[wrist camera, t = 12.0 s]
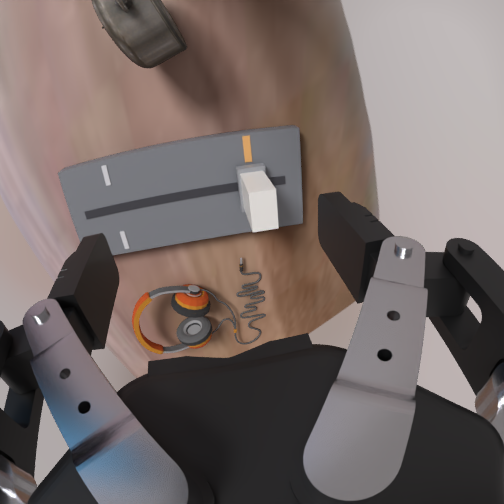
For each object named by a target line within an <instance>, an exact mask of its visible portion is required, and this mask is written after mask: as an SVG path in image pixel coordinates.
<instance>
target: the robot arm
mask: <svg viewBox="0 0 504 504" xmlns="http://www.w3.org/2000/svg"><path fill="white" fill-rule="evenodd" d="M318 236H319V241H320V244H321V247H322V249H323V250H324V252H325V253H326V255H327V256H328V258H329V259H330V261H331V262H332V264H333V266H334V267H335V269H336V270H337V272H338V273H339V275H340V276H341V278H342V280H343V281H344V283H345V284H346V286H347V288H348V289H349V291H350V292H351V294H352V296H353V297H354V299H355V300H356V302H357V303H362V302H364V303H363V305H362V309H361V312H360V315H359V318H358V321H357V324H356V327H355V330H354V333H353V336H352V339H351V341H350V344H349V347H348V350H346V349H344V348H340V347H336V346H330V345H320V344H312V342H311V340H310V338H309V335H308V333H306V334H302V335H297V336H293V337H288V338H284V339H279V340H274V341H270V342H267V343H265V344H262V345H260V346H257V347H255V348H253V349H250V350H248V351H245V352H243V353H241V354H238V355H236V356H233V357H230V358H209V357H190V356H185V357H178V358H171V359H163V360H155V361H149V362H148V374H145V375H143V376H141V377H139V378H136V379H135V380H133V381H131V382H129V383H128V384H127V385H125V386H124V387H123V388H121V389H120V390H119V391H118V392H116V390H115V389H114V388H113V387H112V385H111V384H110V383H109V381H108V380H107V378H106V377H105V375H104V374H103V373H102V371H101V370H100V368H99V367H98V365H97V364H96V363H95V361H94V360H93V358H92V357H91V352H92V350H96V349H104V348H105V343H106V338H107V333H108V328H109V324H110V319H111V315H112V310H113V306H114V302H115V298H116V294H117V289H118V286H119V273H118V269H117V266H116V263H115V261H114V258H113V255H112V253H111V250H110V248H109V245H108V242H107V239H106V237H105V235H104V234H103V233H99V234H94V235H90V236H85V237H83V239H82V241H81V242H80V244H79V246H78V248H77V250H76V252H74V253H73V254H72V255H71V256H70V257H69V258H68V259H67V260H66V261H65V263H64V265H63V267H62V269H61V271H60V273H59V275H58V279H56V281H55V283H54V285H53V287H52V290H51V292H50V294H49V296H48V298H47V299H45V300H41V301H39V302H37V303H36V304H34V305H33V306H32V307H31V308H30V309H29V310H28V311H27V312H26V314H25V316H24V318H23V325H21V326H19V327H16V328H14V329H11V330H9V331H8V329H7V328H6V327H5V325H4V324H3V322H2V321H0V377H1V378H2V379H3V380H4V381H5V382H6V384H7V385H8V386H9V391H8V395H7V399H6V404H5V408H4V411H3V410H2V409H1V408H0V504H504V271H503V270H502V269H501V267H499V265H497V263H496V262H495V261H494V260H493V259H492V258H491V257H490V256H489V255H487V253H485V251H483V250H482V249H481V248H480V247H479V246H478V245H477V244H475V243H474V242H472V241H469V240H466V239H463V238H454V239H451V240H449V241H448V242H447V244H446V248H445V252H425V249H424V247H423V246H422V245H421V244H420V243H419V242H417V241H415V240H413V239H411V238H408V237H402V236H394V235H393V234H392V233H391V232H390V231H389V230H388V229H387V228H386V227H385V226H384V225H383V224H382V223H381V222H380V221H378V219H377V218H376V217H375V216H373V215H372V213H371V212H369V211H368V210H367V209H366V208H365V207H363V206H361V205H359V204H357V203H355V202H353V203H351V202H350V201H349V200H348V199H347V198H346V197H345V196H344V195H343V194H342V193H341V192H332V193H325V194H320V195H319V198H318ZM470 296H471V297H472V298H473V299H474V301H475V302H476V303H477V304H478V305H479V307H480V309H481V312H482V321H481V324H480V323H479V322H478V320H477V319H476V318H475V316H474V315H473V314H472V312H471V311H470V310H469V308H468V307H467V306H466V305H467V302H468V300H469V297H470ZM426 317H429V319H430V320H431V322H432V323H433V325H434V326H435V328H436V329H437V331H438V332H439V334H440V336H441V337H442V339H443V340H444V342H445V344H446V345H447V347H448V348H449V350H450V352H451V353H452V355H453V357H454V358H455V360H456V362H457V363H458V365H459V367H460V368H461V370H462V372H463V374H464V375H465V377H466V379H467V381H468V382H469V384H470V386H471V387H472V389H473V391H474V393H475V395H476V400H475V407H476V412H477V413H474V412H472V411H470V410H468V409H466V408H464V407H461V406H460V405H457V404H455V403H453V402H451V401H449V400H447V399H445V398H443V397H441V396H439V395H437V394H435V393H433V392H430V391H429V390H427V389H424V388H423V387H421V386H419V385H417V379H418V373H419V367H420V360H421V354H422V346H423V338H424V329H425V320H426ZM44 398H45V401H46V403H47V405H48V407H49V409H50V411H51V414H52V416H53V418H54V419H55V422H56V424H57V426H58V428H59V430H60V432H61V433H62V436H63V437H64V439H65V441H66V443H67V445H68V447H69V450H68V451H67V452H66V453H65V454H64V456H63V457H62V458H61V459H60V460H59V462H58V463H57V464H56V465H55V467H54V468H53V469H52V470H51V471H50V473H49V474H48V475H47V476H46V477H45V479H44V480H43V481H42V482H41V483H40V485H39V486H38V487H37V484H36V482H35V480H34V470H35V459H36V448H37V440H38V432H39V425H40V417H41V412H42V406H43V400H44Z"/></svg>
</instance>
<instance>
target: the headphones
mask: <svg viewBox="0 0 504 504" xmlns="http://www.w3.org/2000/svg"><path fill="white" fill-rule="evenodd" d="M239 266H240V272H241V274H243V275H249V274H259V275H260V277H259V280H257V281H256V282H252V283H248V284H244V285H242V289H249V288H253V289H249V290H244V291H240V292H238V293H237V296H238V297H243V296H248V295H251V294H253V295H251V296H250V299H259V298H264V299H263V300H261V301H258V302H253V303H249V304H246V305H245V306H244V307H245V308H255V309H254V310H249V311H245V312H243V313H241V314H240V317H241V318H250V317H255V316H260V315H264V316H262V317H259V318H256V319H253V320H251V321H250V322H249V323H248V327H249V328H251V329H255V330H258V331H259V332H260V333H259V335H258V336H257V338H255V339H254V340H253V341H251V342H248V343H241V342H239V341H238V340H237V337H236V332H237V329H236V320H235V316H234V314H233V312H232V310H231V309H230V307H229V306H228V305H227V304H226V303H224V302H222V301H220V300H218V299H217V298H216V296H215V295H214V294H213V293H211V292H210V291H208V290H204V289H203V288H201V287H199V286H197V285H192V284H188V285H183V286H169V287H162V288H158V289H156V290H153V291H151V292H150V293H148V292H147V293H145V294H144V295H143V296H142V297H141V298H140V299H139V300H138V302H137V303H136V305H135V308H134V311H133V316H132V324H133V329H134V332H135V335H136V337H137V339H138V340H139V342H140V343H141V344H142V345H143V346H144V347H145V348H146V349H148V350H150V351H152V352H154V353H158V354H162V353H173V352H178V351H181V350H184V349H187V348H200V347H203V346H204V345H206V344H207V343H208V342H209V341H210V339H211V336H212V334H213V333H214V332H216V331H217V329H218V328H219V327H220V325H221V324H222V322H223V321H224V320H230V321H231V322H232V323H233V326H234V333H235V339H236V341H237V342H238V343H240V344H249V343H252V342H254V341H255V340H256V339H258V337H259V336H260V334H261V330H259V329H257V328H253V327H250V325H249V324H250V323H251V322H252V321H255V320H257V319H260V318H263V317H265V316H266V314H258V315H253V316H247V317H242V314H244V313H247V312H252V311H255V310H256V309H257V307H256V306H249V307H246V306H247V305H251V304H256V303H260V302H263V301H264V300H265V297H264V296H262V297H257V298H252V296H256V295H261V294H264V293H265V291H263V290H260V291H256V292H253V293H249V294H245V295H238V294H239V293H242V292H247V291H251V290H255V289H257V288H258V286H251V287H243V286H246V285H251V284H255V283H257V282H259V281H260V279H261V274H260V273H259V272H252V273H243V272H242V271H243V264H242V258H240V265H239ZM254 287H256V288H254ZM207 292H208V293H210V294H211V295H213V296H214V298H215V299H216V300H217V301H218V302H221V303H223V304H224V305H226V306H227V307H228V309H229V310H230V311H231V313H232V315H233V318H234V322H233V321H232V320H231V319H229V318H226V319H223V320H222V321H221V323H220V324H219V326H218V327H217V328H216V329H215V330H214V331H213V332H212V325H211V323H210V321H209V319H208V318H206V317H204V316H205V315H206V314H207V313H208V312H209V308H210V301H209V299H208V293H207ZM259 292H262V293H259ZM167 293H175V294H174V295H173V296H172V301H171V305H172V307H173V309H174V310H175V311H176V312H177V313H179V314H181V315H183V316H186V317H189V318H187V319H185V320H184V321H183V322H181V324H180V325H179V327H178V328H177V337H178V339H179V340H180V342H181V343H182V344H179V345H176V346H171V347H163V346H162V345H159V344H156V343H153V342H151V341H150V340H148V339H147V338H146V337H145V336H144V335H143V333H142V332H141V329H140V325H139V318H140V315H141V313H142V311H143V309H144V308H145V307H146V306H147V305H148V304H149V303H150V302H151V300H152V298H154V297H156V296H159V295H162V294H167ZM255 293H258V294H255ZM211 332H212V333H211Z"/></svg>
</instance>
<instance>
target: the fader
mask: <svg viewBox="0 0 504 504" xmlns="http://www.w3.org/2000/svg"><path fill="white" fill-rule="evenodd" d="M236 173H237V181H238V189H239V197H240V206H241V210H242V212H246V215H247V218H248V221H249V223H250V226H251V229H252V232H259V231H265V230H272V229H278V228H279V226H278V211H277V196H276V188H275V187H274V185H273V184H272V183H271V181H270V180H269V178H268V177H267V175H266V171H265V165H264V164H263V163H259V164H251V165H244V166H237V167H236Z"/></svg>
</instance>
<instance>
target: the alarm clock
mask: <svg viewBox="0 0 504 504" xmlns="http://www.w3.org/2000/svg"><path fill="white" fill-rule="evenodd" d="M92 4H93V7H94V9H95V12H96V14H97V16H98V18H99V20H100V21H101V23H102V25H103V27H102V29H103V28H105V30H106V31H107V33H108V34H109V36H110V37H111V38H112V40H113V41H114V42H115V44H116V45H117V46H118V47H119V48H120V50H121V51H122V52H123V53H124V54H125V55H126V56H127V57H128V58H129V59H130V60H131V61H132V62H134V63H135V64H137V65H138V66H140V67H143V68H153V67H155V66H157V65H159V64H161V63H162V62H164V61H166V60H168V59H169V58H171V57H173V56H175V55H176V54H178V53H180V52H182V51H184V50H186V48H187V46H186V43H185V41H184V39H183V37H182V35H181V34H180V32H179V30H178V28H177V26H176V24H175V23H174V21H173V19H172V18H171V16H170V14H169V13H168V11H167V9H166V8H165V6H164V4H163V3H162V1H161V0H92Z"/></svg>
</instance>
